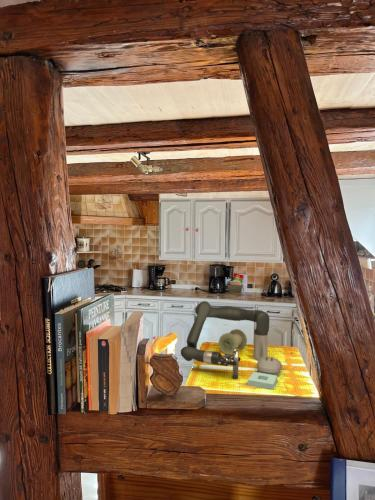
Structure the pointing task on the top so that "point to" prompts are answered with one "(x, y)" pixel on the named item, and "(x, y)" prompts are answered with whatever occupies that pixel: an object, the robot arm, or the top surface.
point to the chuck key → (236, 359)
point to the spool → (232, 341)
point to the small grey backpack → (269, 366)
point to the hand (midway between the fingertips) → (238, 361)
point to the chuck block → (262, 380)
